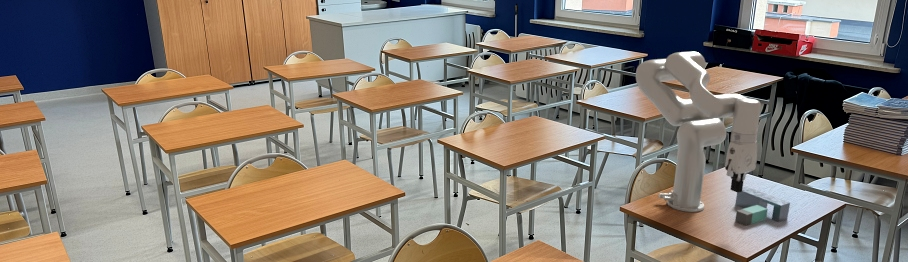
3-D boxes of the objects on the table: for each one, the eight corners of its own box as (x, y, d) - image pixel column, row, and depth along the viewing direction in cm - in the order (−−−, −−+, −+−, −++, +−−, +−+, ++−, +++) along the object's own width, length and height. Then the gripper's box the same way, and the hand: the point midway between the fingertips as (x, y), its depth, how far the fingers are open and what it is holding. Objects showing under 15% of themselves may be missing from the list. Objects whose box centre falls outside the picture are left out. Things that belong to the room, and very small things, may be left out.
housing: (778, 221, 221) (781, 205, 219) (735, 204, 235) (737, 189, 233) (787, 219, 223) (790, 202, 222) (744, 202, 237) (746, 186, 236)
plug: (745, 225, 217) (747, 214, 216) (735, 221, 220) (736, 210, 219) (766, 219, 223) (767, 208, 221) (755, 215, 226) (757, 204, 225)
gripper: (738, 143, 200) (731, 198, 205) (768, 137, 208) (760, 190, 213) (718, 137, 207) (711, 191, 212) (748, 131, 214) (740, 183, 219)
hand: (736, 190), depth 212 cm, fingers closed
